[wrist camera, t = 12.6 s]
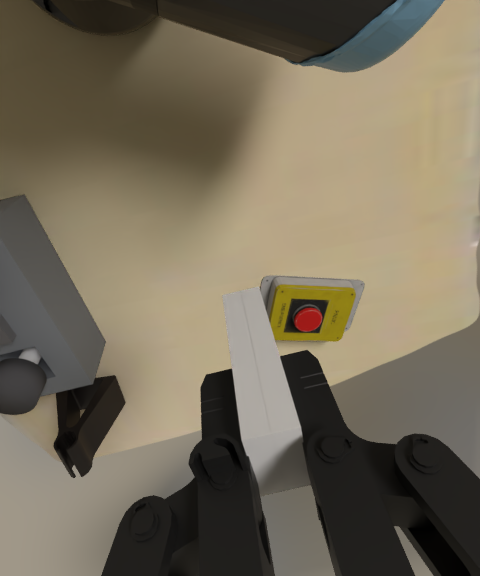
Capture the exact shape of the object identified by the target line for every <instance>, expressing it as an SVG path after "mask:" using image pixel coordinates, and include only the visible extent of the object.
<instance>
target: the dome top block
mask: <svg viewBox="0 0 480 576" xmlns="http://www.w3.org/2000/svg"><path fill="white" fill-rule="evenodd" d="M16 336H17V335H16V334H15V332H14V331H13V330H12V328H11V327H10V326H9V324H8V323H7V321H6V320H5V319H4V317H3V316H2V315H1V314H0V345H4V344H8V343H12V342H13V340H14V339H15V337H16Z"/></svg>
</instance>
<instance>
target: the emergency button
mask: <svg viewBox="0 0 480 576" xmlns="http://www.w3.org/2000/svg"><path fill="white" fill-rule="evenodd" d="M363 289H364V282H363V281H361V280H354V279H334V278H315V277H296V276H276V275H269V276H265V277H264V278H263V279H262V282H261V287H260V292H261V295H262V299H263V302H264V305H265V309H266V312H267V315H268V319H269V322H270V325H271V329H272V332H273V335H274V339H275V340H291V341H339V340H340V339H341V338H342V336H343V333H344V332H345V331H347V330H348V329H349V328H350V326H351V323H352V320H353V317H354V315H355V312H356V309H357V306H358V303H359V300H360V298H361V295H362V292H363Z"/></svg>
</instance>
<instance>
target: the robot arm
mask: <svg viewBox="0 0 480 576" xmlns="http://www.w3.org/2000/svg"><path fill="white" fill-rule="evenodd" d="M32 1H33V2H34V3H35V4H37V5H38V6H39V7H40V8H41V9H42V10H44V11H45V12H46V13H48V14H49V15H51V16H52V17H54V18H55V19H57V20H59V21H60V22H62V23H64V24H66V25H68V26H70V27H73V28H75V29H78V30H81V31H85V32H88V33H92V34H97V35H107V36H108V35H121V34H126V33H129V32H132V31H135V30H137V29H139V28H141V27H143V26H145V25H146V24H148V23H149V22H150V21H152V20H153V19H154V18H155V17H156V16H159V17H160V18H163V19H166V20H169V21H172V22H175V23H178V24H181V25H184V26H187V27H190V28H193V29H196V30H200V31H203V32H206V33H209V34H212V35H215V36H218V37H221V38H224V39H227V40H230V41H233V42H236V43H239V44H242V45H245V46H248V47H251V48H254V49H257V50H261V51H264V52H267V53H270V54H273V55H276V56H279V57H282V58H284V59H285V60H287V61H288V62H290V63H292V64H295V65H298V64H299V65H301V66H313V65H314V66H318V67H322V68H326V69H330V70H333V71H337V72H356V71H360V70H364V69H367V68H369V67H371V66H373V65H375V64H377V63H379V62H381V61H383V60H384V59H386V58H387V57H389V56H390V55H392V54H393V53H394V52H396V51H397V50H398V49H399V48H400V47H402V46H403V45H404V44H405V43H406V42H407V41H408V40H409V39H410V38H412V37H413V36H414V35H415V34H416V33H417V32H418V31H419V30H420V29H421V28H422V26H423V25H424V24H425V23H426V22H427V21H428V20H429V19H430V18H431V17H432V15H433V14H434V13H435V12H436V11H437V9H438V8H439V7H440V6H441V4H442V3H443V2H444V1H445V0H32ZM222 296H223V304H224V311H225V319H226V326H227V334H228V342H229V349H230V357H231V364H232V369H228V370H224V371H220V372H216V373H211V374H207V375H206V376H205V379H204V381H203V383H202V385H201V413H202V415H201V424H202V440H201V441H200V442H199V443H198V444H197V445H196V446H195V447H194V449H193V451H192V452H191V454H190V459H189V466H190V468H191V470H192V472H193V474H194V476H195V478H194V479H193V480H192V481H191V482H190V483H189V484H188V485H186V486H185V487H184V488H182V489H181V490H179V491H177V492H176V493H174V494H172V495H171V496H169V497H167V498H166V499H163V498H161V497H158V496H154V495H153V496H148V497H143V498H142V499H140V500H138V501H137V502H135V503H134V504H133V505H132V506H131V507H130V508H129V509H128V511H126V513H125V515H124V516H123V518H122V520H121V522H120V524H119V527H118V530H117V533H116V536H115V539H114V541H113V544H112V547H111V550H110V553H109V555H108V558H107V561H106V564H105V567H104V570H103V572H102V575H101V576H275V574H274V568H273V562H272V556H271V549H270V543H269V538H268V531H267V525H266V519H265V516H264V513H263V511H262V505H261V498H260V496H264V495H269V494H273V493H277V492H282V491H286V490H290V489H295V488H299V487H303V486H308V485H311V486H312V489H313V493H314V496H315V501H316V506H317V512H318V517H319V520H320V521H321V525H322V528H323V532H324V536H325V539H326V543H327V546H328V550H329V553H330V557H331V561H332V564H333V568H334V572H335V575H336V576H415V575H414V572H413V570H412V568H411V565H410V563H409V560H408V558H407V556H406V554H405V551H404V549H403V547H402V544H401V542H400V540H399V537H398V535H397V533H396V530H395V528H394V526H399V527H400V528H401V530H402V531H403V532H404V534H405V535H406V537H407V538H408V540H409V541H410V542H411V544H412V545H413V547H414V548H415V550H416V551H417V552H418V554H419V555H420V556H421V558H422V559H423V561H424V562H425V564H426V565H427V567H428V568H429V570H430V571H431V572H432V574H433V575H434V576H480V479H479V478H478V477H477V476H476V475H475V474H474V473H473V472H472V471H471V470H470V469H469V468H468V467H467V466H466V465H465V464H464V463H463V462H462V460H460V458H459V457H458V456H457V455H456V454H455V453H454V452H453V451H451V449H450V448H449V447H448V446H446V445H445V444H443V443H442V442H441V441H440V440H438V439H436V438H434V437H431V436H428V435H424V434H412V435H408V436H405V437H403V438H402V439H401V440H400V441H399V442H398V443H397V444H386V443H375V442H370V441H366V440H364V439H362V438H359V437H358V436H356V435H355V434H354V433H352V432H351V431H350V429H348V427H347V426H346V424H345V422H344V420H343V418H342V415H341V413H340V411H339V408H338V406H337V404H336V401H335V399H334V397H333V394H332V392H331V389H330V387H329V385H328V383H327V380H326V378H325V375H324V374H323V370H322V368H321V366H320V363H319V361H318V359H317V358H316V357H315V356H314V355H312V354H311V353H310V352H309V351H308V350H305V351H300V352H296V353H292V354H288V355H284V356H280V355H279V352H278V349H277V345H276V342H275V339H274V335H273V332H272V329H271V325H270V322H269V319H268V315H267V312H266V309H265V305H264V302H263V299H262V295H261V292H260V289H259V286H258V287H254V288H250V289H246V290H242V291H238V292H233V293H229V294H225V295H222Z"/></svg>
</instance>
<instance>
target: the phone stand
mask: <svg viewBox="0 0 480 576" xmlns="http://www.w3.org/2000/svg"><path fill="white" fill-rule="evenodd" d="M56 399H57V413H58V428H59V432H58V436H57V438H56V440H55V442H54V449H55V451H56V452H57V454H58V456H59V457H60V459H61V461H62V462H63V464H64V465H65V467H66V469H67V471H68V472H69V474H70V475H71V477H73V478H75V477H76V476H75V474H74V473H73V470H72V467H73V465H75V466H76V468H77V470H78V472H79V473H80V475H81V477H83V476H84V475H86V474H87V473H88V472H89V470H90V469H91V467H92V460H93V457H94V455H95V453H96V451H97V449H98V448H99V446H100V444H101V443H102V441H103V439H104V438H105V436H106V434H107V433H108V431H109V430H110V428H111V426H112V425H113V423H114V421H115V420H116V418H117V416H118V415H119V413H120V411H121V410H122V408H123V407H124V405H125V400H124V397H123V395H122V392H121V389H120V387H119V384H118V381H117V379H116V376H107V377H100V378H95V379H94V382H93V384H91V385H87V386H83V387H78V388H74V389H70V390H66V391H62V392H57V393H56ZM82 409H85V411H84V413H83V414H82V416H81V418H80V410H82Z"/></svg>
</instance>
